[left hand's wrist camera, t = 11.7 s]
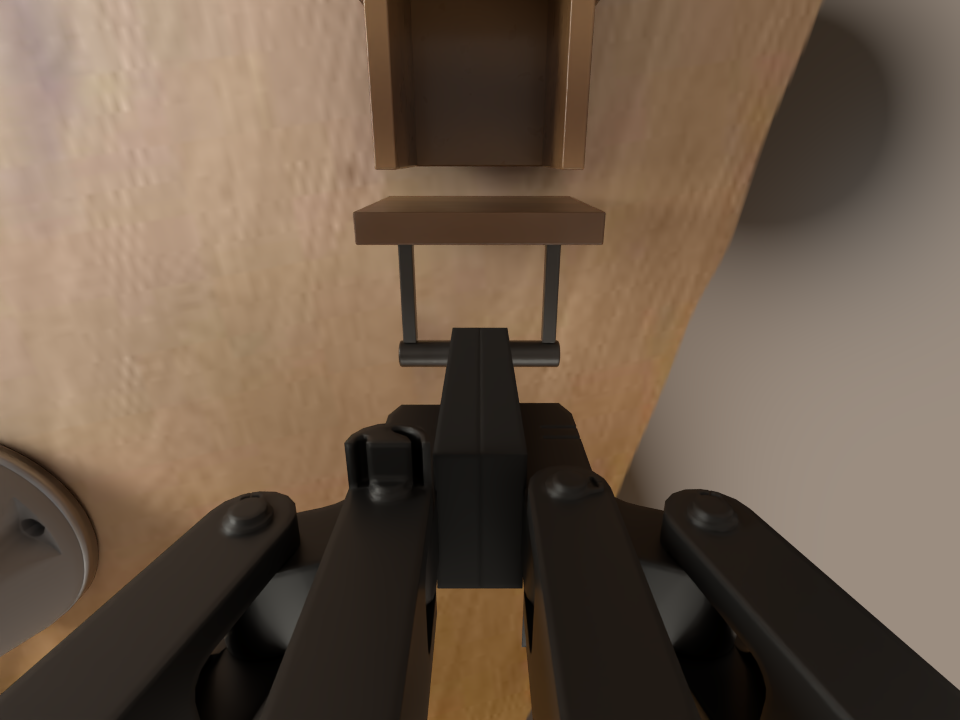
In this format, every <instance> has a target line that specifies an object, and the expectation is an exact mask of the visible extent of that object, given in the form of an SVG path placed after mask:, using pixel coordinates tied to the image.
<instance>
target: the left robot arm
mask: <svg viewBox="0 0 960 720" xmlns="http://www.w3.org/2000/svg"><path fill="white" fill-rule="evenodd" d="M344 444H345V453H346V462H347V472H348V481H349V490H348V493H347V495H346V498H345V500H343V501H341V502H338V503H336V504H333V505H330V506H326V507H323V508H318V509H313V510H308V511H304V512H299V513H296V506H295V503H294V502H293V501H292V500H291V499H290V498H289V497H288V496H286V495H283V494H280V493H277V492H260V491H259V492H252V493H247V494H243V495H240V496H238V497H235V498H233V499H230V500H228V501H225V502H224V503H222V504H221V505H219V506H218V507H216V508H215V509H213V510H212V511H210V512H209V513H208V514H207V515H206V516H204V517H203V518H202V519H201V520H200V521H199V522H198V523H196V524H195V525H194V526H193V527H192V528H191V529H190V530H188V531H187V532H186V533H185V534H184V535H183V536H182V537H180V538H179V539H178V540H177V541H176V542H175V543H174V544H172V545H171V546H170V547H169V548H168V549H167V550H166V551H164V552H163V553H162V554H161V555H160V556H159V557H158V558H156V559H155V560H154V561H153V562H152V563H151V564H150V565H148V566H147V567H146V568H145V569H144V570H143V571H142V572H140V573H139V574H138V575H137V576H136V577H135V578H134V579H132V580H131V581H130V582H129V583H128V584H127V585H126V586H124V587H123V588H122V589H121V590H120V591H119V592H118V593H116V594H115V595H114V596H113V597H112V598H111V599H110V600H108V601H107V602H106V603H105V604H104V605H103V606H102V607H100V608H99V609H98V610H97V611H96V612H95V613H94V614H92V615H91V616H90V617H89V618H88V619H87V620H85V621H84V622H83V623H82V624H81V625H80V626H79V627H77V628H76V629H75V630H74V631H73V632H72V633H71V634H69V635H68V636H67V637H66V638H65V639H64V640H63V641H61V642H60V643H59V644H58V645H57V646H56V647H55V648H53V649H52V650H51V651H50V652H49V653H48V654H47V655H45V656H44V657H43V658H42V659H41V660H40V661H39V662H37V663H36V664H35V665H34V666H33V667H32V668H31V669H29V670H28V671H27V672H26V673H25V674H24V675H23V676H21V677H20V678H19V679H18V680H17V681H16V682H15V683H13V684H12V685H11V686H10V687H9V688H8V689H7V690H5V691H4V692H3V693H2V694H1V695H0V720H427V716H428V705H429V694H430V683H431V672H432V661H433V650H434V639H435V628H436V617H437V604H436V585H437V586H438V588H522V586H523V582H524V604H523V630H522V647H526V649H527V660H528V671H529V682H530V693H531V704H532V715H533V720H960V690H958V689H957V688H956V687H955V686H954V685H953V684H952V683H950V682H949V681H948V680H947V679H946V678H945V677H943V676H942V675H941V674H940V673H939V672H938V671H937V670H935V669H934V668H933V667H932V666H931V665H930V664H928V663H927V662H926V661H925V660H924V659H923V658H922V657H920V656H919V655H918V654H917V653H916V652H915V651H914V650H912V649H911V648H910V647H909V646H908V645H907V644H905V643H904V642H903V641H902V640H901V639H900V638H898V637H897V636H896V635H895V634H894V633H893V632H892V631H890V630H889V629H888V628H887V627H886V626H885V625H884V624H882V623H881V622H880V621H879V620H878V619H877V618H875V617H874V616H873V615H872V614H871V613H870V612H868V611H867V610H866V609H865V608H864V607H863V606H862V605H860V604H859V603H858V602H857V601H856V600H855V599H853V598H852V597H851V596H850V595H849V594H848V593H847V592H845V591H844V590H843V589H842V588H841V587H840V586H839V585H837V584H836V583H835V582H834V581H833V580H832V579H830V578H829V577H828V576H827V575H826V574H825V573H824V572H822V571H821V570H820V569H819V568H818V567H817V566H815V565H814V564H813V563H812V562H811V561H810V560H808V559H807V558H806V557H805V556H804V555H803V554H802V553H800V552H799V551H798V550H797V549H796V548H795V547H794V546H792V545H791V544H790V543H789V542H788V541H787V540H785V539H784V538H783V537H782V536H781V535H780V534H778V533H777V532H776V531H775V530H774V529H773V528H772V527H770V526H769V525H768V524H767V523H766V522H765V521H763V520H762V519H761V518H760V517H759V516H758V515H757V514H755V513H754V512H753V511H752V510H751V509H750V508H748V507H747V506H745V505H744V504H742V503H741V502H739V501H738V500H736V499H734V498H731V497H729V496H726V495H724V494H721V493H719V492H715V491H708V490H703V489H687V490H682V491H679V492H676V493H673V494H672V495H671V496H670V497H669V498H668V499H667V500H666V501H665V506H664V511H662V510H658V509H653V508H648V507H643V506H638V505H635V504H631V503H627V502H625V501H622V500H620V499H618V498H615V497H614V495H613V492H612V490H611V487H610V486H609V485H608V483H607V482H606V480H605V479H604V478H602V477H601V476H599V475H598V474H596V473H595V472H593V471H592V469H591V467H590V464H589V461H588V458H587V455H586V453H585V450H584V447H583V444H582V441H581V439H580V436H579V433H578V430H577V428H576V425H575V422H574V419H573V416H572V414H571V413H570V412H569V411H568V410H566V409H565V408H564V407H563V406H561V405H560V404H559V403H519V398H518V392H517V386H516V379H515V373H514V367H513V361H512V354H511V348H510V342H509V336H508V329H507V328H453V329H452V336H451V342H450V348H449V354H448V361H447V367H446V373H445V379H444V386H443V392H442V398H441V404H440V405H401V406H399V407H398V408H397V409H396V410H395V411H393V412H392V413H391V414H390V415H388V418H387V421H386V424H377V425H373V426H370V427H366V428H363V429H361V430H359V431H358V432H356V433H354V434H352V435H351V436H350V437H349V438H348V440H347V441H346V442H345V443H344ZM97 565H98V545H97V540H96V536H95V533H94V530H93V527H92V525H91V523H90V521H89V518H88V516H87V515H86V513H85V511H84V510H83V508H82V507H81V505H80V504H79V502H78V501H77V500H76V498H75V497H74V496H73V495H72V494H71V493H70V491H69V490H68V489H67V488H66V487H65V486H64V485H63V484H62V483H61V482H60V481H59V480H57V479H56V478H55V477H54V476H53V475H52V474H50V473H49V472H48V471H46V470H45V469H44V468H42V467H41V466H40V465H38V464H36V463H35V462H33V461H32V460H30V459H28V458H27V457H25V456H23V455H21V454H19V453H17V452H15V451H13V450H11V449H9V448H6V447H4V446H1V445H0V657H1V656H2V655H4V654H6V653H7V652H9V651H10V650H12V649H14V648H15V647H17V646H18V645H20V644H21V643H23V642H25V641H26V640H28V639H29V638H31V637H32V636H34V635H36V634H37V633H39V632H41V631H42V630H44V629H45V628H47V627H49V626H50V625H51V624H53V623H54V622H55V621H56V620H58V619H59V618H60V617H61V616H62V615H64V614H65V613H66V612H67V611H68V610H69V609H70V608H71V607H72V606H73V605H74V604H75V603H76V601H77V600H78V599H79V598H80V597H81V596H82V595H83V594H84V593H85V591H86V590H87V589H88V588H89V586H90V584H91V583H92V581H93V579H94V576H95V573H96V570H97Z"/></svg>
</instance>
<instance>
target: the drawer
mask: <svg viewBox="0 0 960 720" xmlns="http://www.w3.org/2000/svg"><path fill="white" fill-rule="evenodd" d="M363 3H364V18H365V32H366V47H367V62H368V76H369V91H370V106H371V120H372V135H373V150H374V164H375V169H377V170H395V169H402V168H408V167H414V166H544V167H550V168H557V169H563V170H583V169H584V161H585V146H586V131H587V116H588V102H589V87H590V72H591V57H592V43H593V28H594V13H595V0H363ZM605 214H606V213H605V212H603V211H601V210H599V209H597V208H594V207H592V206H590V205H588V204H585V203H583V202H581V201H579V200H577V199H574V198H572V197H570V196H389V197H387V198H385V199H382V200H380V201H378V202H376V203H373V204H371V205H369V206H367V207H364V208H362V209H360V210H358V211H355V212H353V218H354V230H355V242H356V244H357V245H398V254H399V271H400V289H401V307H402V325H403V340H402V341H400V344H399V363H400V366H401V367H447V361H448V354H449V348H450V342H451V340H417V339H418V333H417V311H416V289H415V267H414V245H545V263H544V285H543V308H542V330H541V339H542V341H509V342H510V348H511V354H512V361H513V367H558V366H559V362H560V345H559V342H558V341H556V323H557V305H558V287H559V269H560V251H561V245H602V244H603V238H604V226H605Z"/></svg>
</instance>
